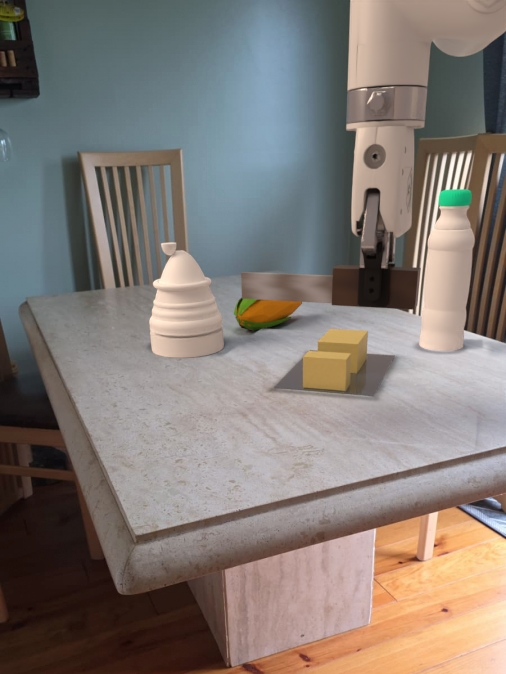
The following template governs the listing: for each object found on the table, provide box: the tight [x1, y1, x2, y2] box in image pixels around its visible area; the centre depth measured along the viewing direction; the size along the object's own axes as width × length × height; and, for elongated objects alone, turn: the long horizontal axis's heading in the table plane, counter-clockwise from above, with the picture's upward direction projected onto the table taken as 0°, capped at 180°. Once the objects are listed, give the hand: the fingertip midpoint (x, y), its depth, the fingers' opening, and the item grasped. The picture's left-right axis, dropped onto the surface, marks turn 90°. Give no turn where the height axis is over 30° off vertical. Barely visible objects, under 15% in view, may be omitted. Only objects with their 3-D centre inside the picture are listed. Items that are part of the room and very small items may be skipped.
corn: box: [233, 297, 303, 331], centre depth 124 cm, size 7×8×20 cm
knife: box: [240, 264, 422, 311], centre depth 69 cm, size 20×2×4 cm, turn 70°
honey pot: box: [148, 241, 225, 359], centre depth 107 cm, size 13×13×18 cm
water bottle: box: [418, 188, 476, 352], centre depth 99 cm, size 7×7×25 cm
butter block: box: [317, 328, 369, 374], centre depth 95 cm, size 6×8×4 cm
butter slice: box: [302, 350, 351, 391], centre depth 86 cm, size 6×3×4 cm, turn 71°
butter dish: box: [273, 349, 396, 397], centre depth 93 cm, size 14×20×1 cm
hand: (375, 301), depth 68 cm, fingers closed on knife, 2 cm apart
